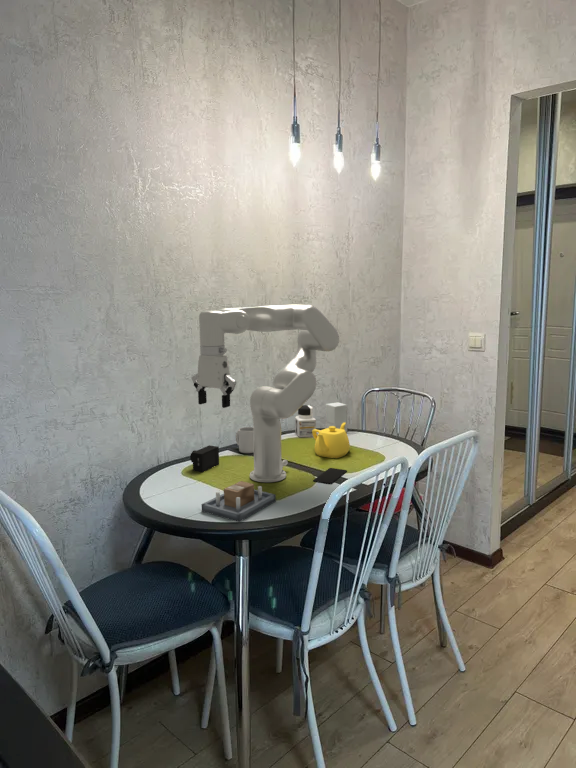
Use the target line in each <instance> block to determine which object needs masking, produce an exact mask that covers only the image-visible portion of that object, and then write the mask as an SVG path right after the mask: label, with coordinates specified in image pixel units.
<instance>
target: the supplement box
mask: <svg viewBox="0 0 576 768" xmlns="http://www.w3.org/2000/svg"><path fill="white" fill-rule="evenodd" d="M344 422H345V423H346V424H345V431H346V433H347V432H348V404H345V403H342V402H339V401H337V402H330V403H325V429H326V428H329V427H330V426H335V427H336V428H338V429H340V427H341V425H342V423H344Z"/></svg>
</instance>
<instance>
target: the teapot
mask: <svg viewBox="0 0 576 768" xmlns="http://www.w3.org/2000/svg"><path fill="white" fill-rule="evenodd" d="M345 424H346V423H345V422H344V423H342V425H341V427H340V429H338V428H336V427H335V426H330V427H329V428H326V427H325V428H323V429H321V430H320V429H317V428H316V429H313V430H312V434H313V436H312V437H313V438H314V439H313V440H315V442H314V453H315V454H316V455H317V456H319V457H324V458H328V459H329V458H330V459H338V458H342V457H344V456H346V455H347V454H348V453H349V451H350V448H351V447H350V446H351V445H350V439H349V436H348V434H347V432H346V431H345Z"/></svg>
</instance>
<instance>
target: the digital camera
mask: <svg viewBox="0 0 576 768" xmlns="http://www.w3.org/2000/svg"><path fill="white" fill-rule="evenodd" d="M219 448H220V447H219V446H216V445H207V446H204V447H202V448H200V449H197V450H195V449H194V450H192V451H191V453H190V456H189V460H190V462H191V463H192V471H193V472H196V473H197V472H199V473H205V472H207V471H209V470H210V469H213V468H215V467H218V466H219V465H220V451H219V450H220V449H219ZM214 466H215V467H214ZM212 467H213V468H212ZM204 471H205V472H204Z"/></svg>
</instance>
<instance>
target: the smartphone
mask: <svg viewBox="0 0 576 768" xmlns="http://www.w3.org/2000/svg"><path fill="white" fill-rule="evenodd" d="M347 472H348V470H347V469H341V468H340V469H339V468H333V467H329V468H328V469H326V470H325V471H323V472H322V473H321V474H319V475H318V476H317V477H316V478H314V479H313V480H312V482H314V483H318V484H319V483H320V484H323V485H333V484H334V483H335V482H337V481H338V480H339V479H340V478H342V477H343V476H344V475H345V474H346V473H347Z"/></svg>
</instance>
